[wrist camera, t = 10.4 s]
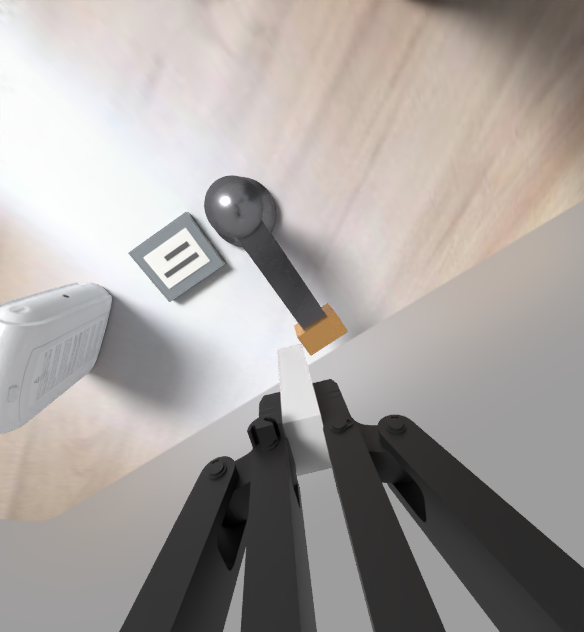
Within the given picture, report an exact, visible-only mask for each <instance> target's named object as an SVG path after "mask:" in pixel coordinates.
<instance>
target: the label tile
mask: <svg viewBox="0 0 584 632" xmlns="http://www.w3.org/2000/svg"><path fill="white" fill-rule="evenodd" d="M129 255H130V256H131V257H132V258H133V259H134V261H135V262H136V263H137V264H138V265H139V267H140V268H141V269H142V270H143V271H144V272H145V274H146V275H147V276H148V277H149V278H150V280H151V281H152V282H153V283H154V284H155V286H156V287H157V288H158V289H159V290H160V292H161V293H162V294H163V295H164V296H165V298H166V299H167V300H168V301H169V302H171V301H172V300H174V299H175V298H176V297H178V296H179V295H181V294H182V293H184V292H185V291H187V290H188V289H190V288H191V287H193V286H194V285H196V284H197V283H198V282H200V281H201V280H203V279H204V278H206V277H207V276H209V275H210V274H212V273H213V272H215V271H216V270H218V269H219V268H220V267H222V266H223V265H225V262H224V261H223V259H222V258H221V257H220V255H219V254H218V252H217V251H216V250H215V248H214V247H213V246H212V244H211V243H210V241H209V240H208V239H207V237H206V236H205V235H204V233H203V232H202V230H201V229H200V228H199V226H198V225H197V224H196V222H195V221H194V219H193V218H192V217H191V215H190V214H189V213H188V212H185V213H184V214H182V215H181V216H179V217H178V218H177V219H175V220H174V221H172V222H171V223H170V224H168V225H167V226H165V227H164V228H163V229H161V230H160V231H158V232H157V233H156V234H154V235H153V236H151V237H150V238H149V239H147V240H146V241H144V242H143V243H142V244H140V245H139V246H137V247H136V248H135V249H133V250H132V251H130V252H129Z"/></svg>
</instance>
